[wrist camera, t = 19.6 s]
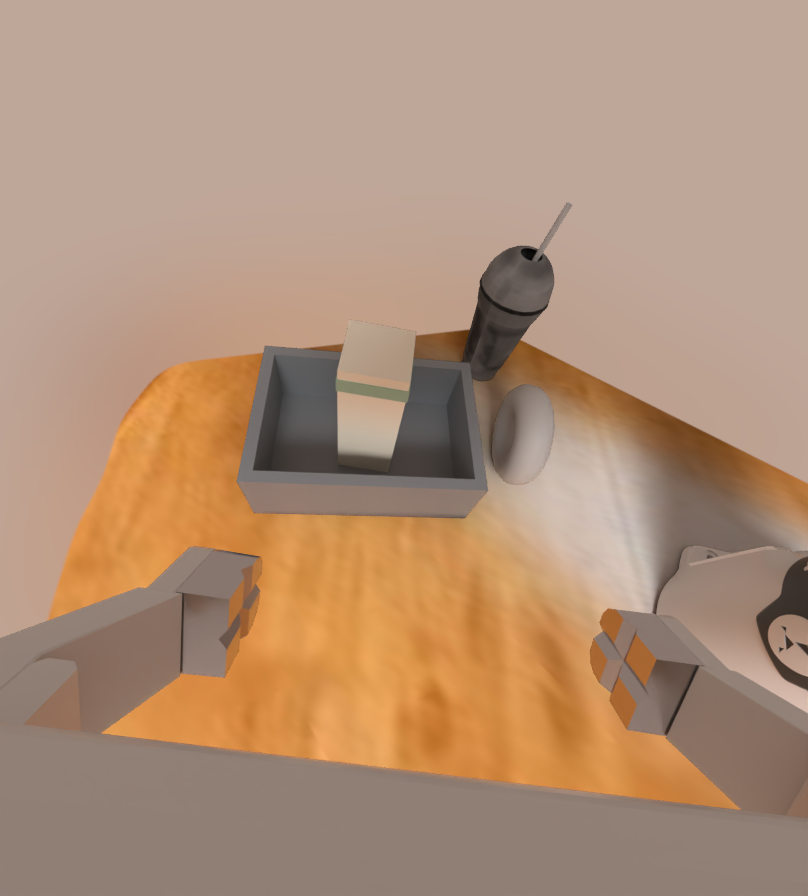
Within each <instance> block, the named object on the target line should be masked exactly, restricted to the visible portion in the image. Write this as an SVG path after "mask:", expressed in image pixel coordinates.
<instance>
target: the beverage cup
mask: <svg viewBox="0 0 808 896" xmlns="http://www.w3.org/2000/svg"><path fill="white" fill-rule="evenodd" d="M571 206H572V205H571V204H570V203H566V205H565V207H564V208H563V210H562V211H561V213H560V215H559V216H558V218H557V220H556V221H555V223H554V225H553V226H552V228H551V229H550V231H549V233H548V234H547V236H546V238H545V239H544V241H543V243H542V244H541V246H540V248H539V249H536V248H534V247H530V246H516V247H513V248H509V249H507V250H505V251H503V252H502V253H501V254H500V255H498V256H497V257H495V258H494V260H493V261H492V262H491V263H490V264H489V266H488V268H487V270H486V271H485V272H484V274H483V275H482V278H481V280H480V287H479V293H478V303H477V307H476V310H475V314H474V317H473V321H472V325H471V328H470V332H469V335H468V339H467V343H466V346H465V350H464V356H463V360H462V362H464V363H470V368H471V375H472V379H475V380H478V381H487V380H490V379H492V378H493V377H494V376H495V374H496V373H497V371H498V370H499V369H500V368H501V367H502V365H503V364H504V362H505V361H506V359H507V358H508V357H509V355H510V354H511V352H512V351H513V349H514V348H515V347H516V345H517V344H518V342H519V341H520V339H521V338H522V336H523V335H524V333H525V332H526V331H527V329H528V328H529V326H530V325H531V324H532V323H533V322H534V321H535V320H536V319H537V318H538V316H539V315H540V314H541V313H542V312H543V311H544V310H545V309H546V308H547V306H548V303H549V299H550V297H551V293H552V290H553V287H554V274H553V269H552V265H551V263H550V261H549V260H548V258H547V257H546V256H545V255H544V254H543V252H544V250H545V249H546V247H547V245H548V244H549V242H550V240H551V239H552V237H553V236H554V234H555V232H556V231H557V229H558V227H559V226H560V224H561V223H562V221H563V219H564V218H565V216H566V214H567V213H568V211H569V210H570V208H571Z"/></svg>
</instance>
